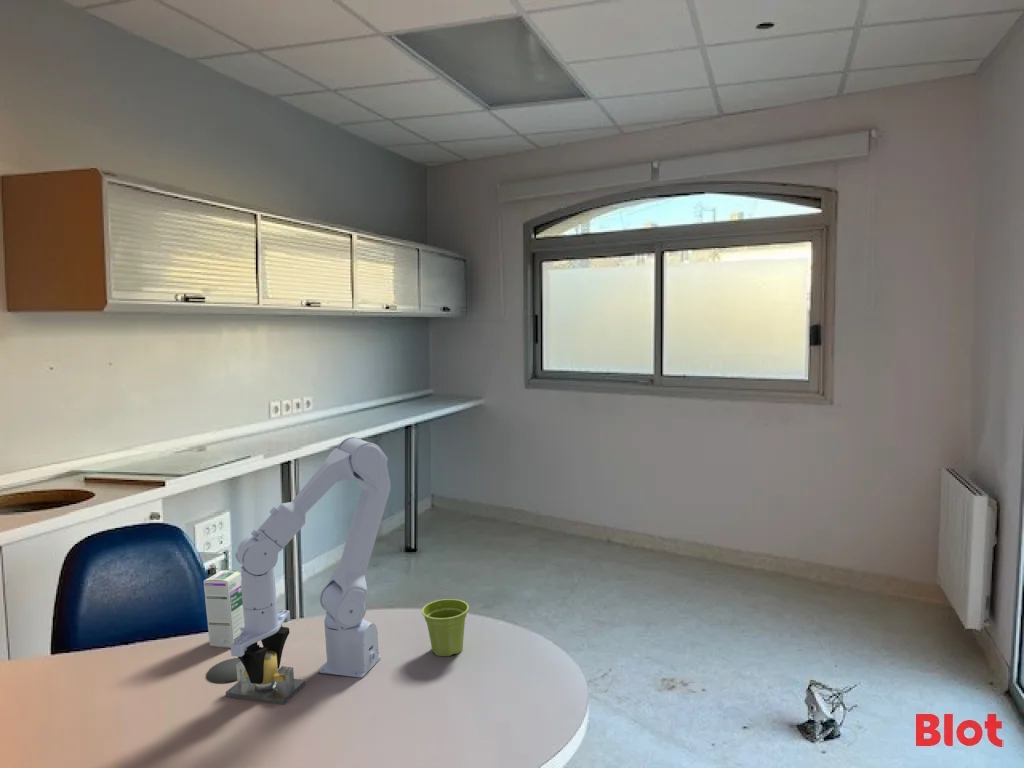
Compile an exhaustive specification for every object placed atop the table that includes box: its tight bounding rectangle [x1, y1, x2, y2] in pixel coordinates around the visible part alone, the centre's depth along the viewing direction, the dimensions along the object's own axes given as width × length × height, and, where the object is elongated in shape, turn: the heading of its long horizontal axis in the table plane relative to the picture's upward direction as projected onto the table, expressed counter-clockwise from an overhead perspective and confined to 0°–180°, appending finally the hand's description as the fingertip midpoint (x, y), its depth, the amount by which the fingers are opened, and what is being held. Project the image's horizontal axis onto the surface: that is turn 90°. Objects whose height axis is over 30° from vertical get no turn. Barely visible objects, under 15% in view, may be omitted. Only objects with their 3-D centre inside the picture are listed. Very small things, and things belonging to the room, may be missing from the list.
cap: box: [244, 651, 286, 684], centre depth 124 cm, size 8×4×4 cm, turn 74°
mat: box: [206, 657, 246, 684], centre depth 133 cm, size 9×9×1 cm
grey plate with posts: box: [225, 662, 307, 705], centre depth 125 cm, size 12×7×5 cm, turn 74°
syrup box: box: [203, 569, 244, 649], centre depth 144 cm, size 6×6×14 cm
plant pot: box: [421, 598, 470, 657], centre depth 137 cm, size 9×9×9 cm
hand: (265, 675), depth 125 cm, fingers closed on cap, 4 cm apart
